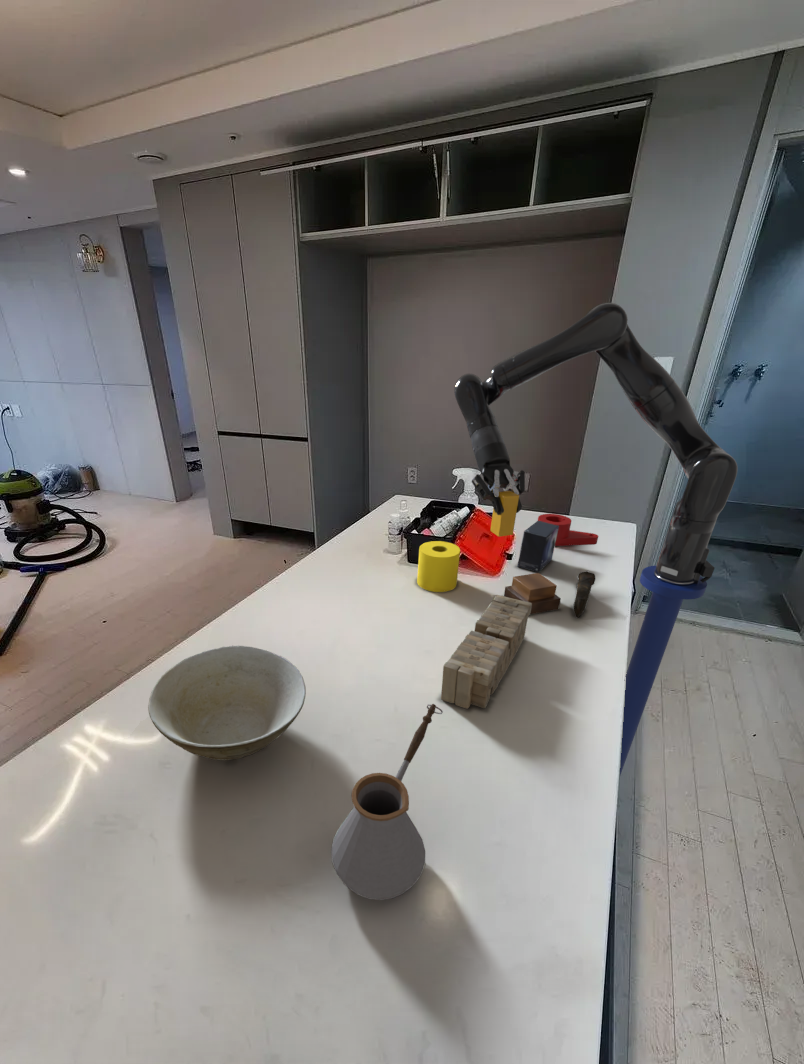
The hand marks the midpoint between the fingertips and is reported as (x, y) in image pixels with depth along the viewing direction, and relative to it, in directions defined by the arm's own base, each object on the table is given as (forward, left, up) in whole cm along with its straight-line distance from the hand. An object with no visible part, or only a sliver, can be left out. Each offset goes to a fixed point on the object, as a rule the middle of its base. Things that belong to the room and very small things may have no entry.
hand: (509, 512), depth 121 cm
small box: (-11, -13, -19) cm, 25 cm away
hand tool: (-19, +8, -19) cm, 28 cm away
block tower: (+6, +36, -19) cm, 42 cm away
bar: (+1, -2, -6) cm, 6 cm away
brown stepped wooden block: (-6, +10, -19) cm, 22 cm away
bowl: (+49, +61, -19) cm, 81 cm away
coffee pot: (+22, +76, -19) cm, 82 cm away
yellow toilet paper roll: (+16, +2, -19) cm, 25 cm away
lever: (-23, -31, -19) cm, 43 cm away
